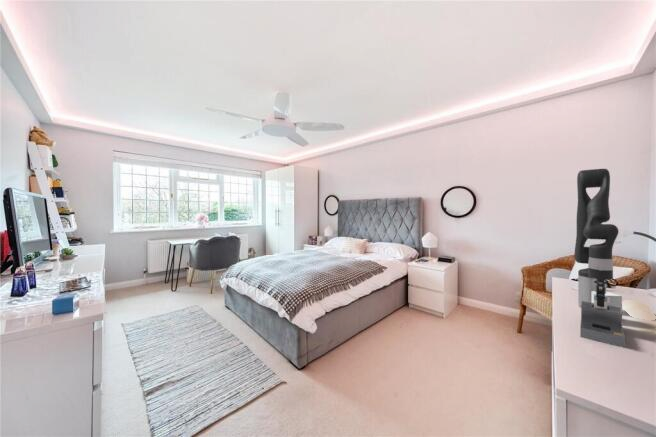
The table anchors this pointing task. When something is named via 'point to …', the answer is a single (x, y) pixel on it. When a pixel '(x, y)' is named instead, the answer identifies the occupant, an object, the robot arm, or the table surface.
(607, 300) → the plug
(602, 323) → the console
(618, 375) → the table surface
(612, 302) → the supplement box
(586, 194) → the robot arm
